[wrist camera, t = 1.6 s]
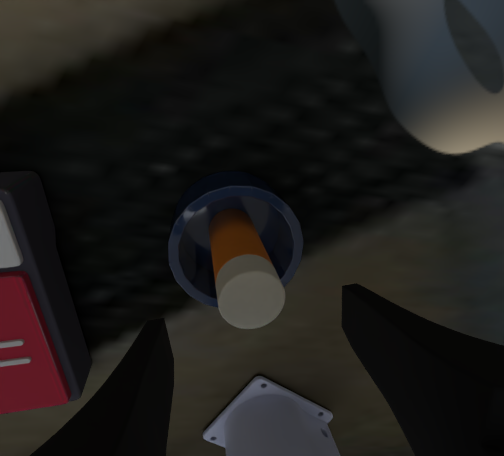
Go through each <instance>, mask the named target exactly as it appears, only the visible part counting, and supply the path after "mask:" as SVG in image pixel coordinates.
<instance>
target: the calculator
mask: <svg viewBox="0 0 504 456" xmlns="http://www.w3.org/2000/svg"><path fill="white" fill-rule="evenodd" d="M91 365H92V362H91V359H90V356H89V352H88V349H87V346H86V343H85V339H84V336H83V333H82V329H81V326H80V323H79V320H78V316H77V313H76V310H75V307H74V303H73V300H72V297H71V294H70V290H69V287H68V284H67V281H66V277H65V274H64V271H63V268H62V264H61V261H60V258H59V255H58V251H57V248H56V236H55V226H54V222H53V219H52V216H51V212H50V209H49V206H48V202H47V199H46V196H45V192H44V189H43V186H42V182H41V179H40V177H39V175H38V174H37V173H35V172H33V171H14V172H0V414H4V413H11V412H17V411H24V410H30V409H36V408H43V407H49V406H56V405H62V404H66V403H68V402H69V401H74V400H77V399H79V398H80V397H81V395H82V392H83V389H84V386H85V383H86V380H87V377H88V374H89V371H90V368H91Z"/></svg>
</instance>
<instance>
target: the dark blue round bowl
mask: <svg viewBox="0 0 504 456" xmlns="http://www.w3.org/2000/svg"><path fill="white" fill-rule="evenodd" d="M226 209H238V210H241V211H243V212H245V213H246V214H247V215H248V216H249V217H250V219H251V220H252V223H253V225H254V227H255V229H256V231H257V233H258V235H259V237H260V239H261V241H262V243H263V245H264V248H265V250H266V252H267V254H268V256H269V258H270V260H271V262H272V264H273V266H274V268H275V270H276V272H277V275H278V277H279V279H280V281H281V283H282V285H283V287H285V286H286V284H287V283H288V282H289V281H290V280H291V279H292V277H293V276H294V274H295V272H296V270H297V268H298V265H299V263H300V261H301V257H302V250H303V236H302V231H301V227H300V223H299V221H298V219H297V218H296V216H295V214H294V213H293V211H292V209H291V208H290V206H289V205H288V204H287V203H286V202H285V201H284V200H283V199H282V197H281V196H280V195H279V194H278V193H277V192H276V191H275V190H274V189H273V188H272V187H271V186H270V185H269V184H267V183H266V182H265V181H263V180H262V179H260V178H258V177H256V176H254V175H252V174H249V173H245V172H240V171H222V172H217V173H213V174H210V175H208V176H206V177H203V178H201V179H200V180H198V181H197V182H195V183H194V184H193V185H191V186H190V187H189V188H188V189H187V190H186V191H185V193H184V194H183V195H182V197H181V198H180V200H179V201H178V203H177V206H176V208H175V211H174V214H173V218H172V222H171V228H170V234H169V240H168V261H169V265H170V267H171V270H172V272H173V275H174V277H175V280H176V281H177V282H178V284H179V285H180V286H181V287H182V288H183V289H184V290H185V291H186V292H187V294H188V295H190V296H191V297H193V298H195V299H196V300H198V301H200V302H202V303H203V304H205V305H209V306H213V307H218V301H217V293H216V285H215V277H214V269H213V261H212V253H211V245H210V237H209V225H210V222H211V220H212V219H213V217H214V216H215V215H216V214H218V213H219V212H221V211H223V210H226Z"/></svg>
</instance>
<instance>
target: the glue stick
mask: <svg viewBox="0 0 504 456" xmlns="http://www.w3.org/2000/svg"><path fill="white" fill-rule="evenodd" d="M209 237H210V245H211V253H212V261H213V269H214V277H215V285H216V293H217V301H218V308H219V311H220V314H221V315H222V317H223V318H224V319H225V320H226V321H227V322H228V323H229V324H231V325H233V326H235V327H238V328H242V329H254V328H259V327H262V326H264V325H266V324H268V323H270V322H271V321H273V320H274V319H275V318H276V317H277V316H278V315H279V313H280V312H281V310H282V308H283V306H284V302H285V290H284V287H283V285H282V283H281V281H280V279H279V277H278V275H277V272H276V270H275V268H274V266H273V264H272V262H271V260H270V258H269V256H268V254H267V252H266V250H265V248H264V245H263V243H262V241H261V239H260V237H259V235H258V233H257V231H256V229H255V227H254V225H253V223H252V220H251V219H250V217H249V216H248V215H247V214H246V213H245V212H243V211H241V210H238V209H226V210H223V211H221V212H219V213H218V214H216V215H215V216H214V217H213V219H212V220H211V222H210V225H209Z"/></svg>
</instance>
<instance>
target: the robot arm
mask: <svg viewBox="0 0 504 456" xmlns="http://www.w3.org/2000/svg"><path fill="white" fill-rule="evenodd" d="M342 328H343V330H344V332H345V334H346V337H347V339H348V341H349V343H350V345H351V347H352V349H353V350H354V352H355V353H356V355H357V356H358V358H359V359H360V361H361V363H362V364H363V366H364V367H365V369H366V370H367V372H368V373H369V375H370V376H371V378H372V379H373V381H374V382H375V384H376V385H377V387H378V388H379V390H380V391H381V393H382V394H383V396H384V398H385V399H386V401H387V402H388V404H389V406H390V408H391V409H392V411H393V413H394V415H395V417H396V419H397V421H398V423H399V425H400V426H401V428H402V430H403V432H404V434H405V436H406V438H407V440H408V442H409V444H410V446H411V448H412V450H413V452H414V454H415V456H504V346H503V345H499V344H495V343H491V342H488V341H484V340H481V339H478V338H475V337H472V336H469V335H465V334H463V333H460V332H457V331H454V330H451V329H449V328H446V327H444V326H441V325H439V324H436V323H434V322H431V321H429V320H427V319H425V318H422V317H420V316H418V315H416V314H414V313H412V312H410V311H408V310H406V309H404V308H402V307H400V306H398V305H396V304H394V303H392V302H390V301H388V300H387V299H385V298H383V297H381V296H379V295H378V294H376V293H374V292H372V291H370V290H368V289H367V288H365V287H363V286H361V285H359V284H357V283H356V284H350V285H345V286H342ZM264 383H265V384H264ZM262 384H263V385H262ZM173 387H174V358H173V353H172V349H171V345H170V341H169V337H168V333H167V328H166V324H165V320H164V318H161V319H155V320H149V321H147V322H146V324H145V325H144V327H143V328H142V330H141V332H140V333H139V335H138V336H137V338H136V340H135V341H134V343H133V344H132V346H131V347H130V349H129V350H128V352H127V353H126V354H125V356H124V357H123V359H122V360H121V362H120V363H119V364H118V366H117V367H116V368H115V370H114V371H113V372H112V374H111V375H110V376H109V378H108V379H107V380H106V381H105V383H104V384H103V385H102V386H101V388H100V389H99V390H98V391H97V392H96V393H95V395H94V396H93V397H92V398H91V399H90V400H89V401H88V402H87V403H86V404H85V405H84V407H83V408H82V409H81V410H80V411H79V412H77V413H76V414H75V415H74V416H73V417H72V418H71V419H70V420H69V421H68V422H67V423H66V424H65V425H64V426H63V427H62V428H61V429H60V430H59V431H58V432H57V433H56V434H54V435H53V436H52V437H51V438H50V439H49V440H48V441H47V442H45V443H44V444H43V445H42V446H41V447H39V448H38V449H37V450H36V451H35V452H33V453H32V454H31V455H30V456H166V446H167V437H168V429H169V421H170V413H171V404H172V396H173ZM332 418H333V415H332V413H331V412H330V411H329V410H327V409H325V408H323V407H321V406H319V405H317V404H315V403H313V402H311V401H309V400H307V399H305V398H303V397H301V396H299V395H298V394H296V393H294V392H292V391H290V390H288V389H286V388H284V387H282V386H280V385H278V384H276V383H274V382H272V381H270V380H268V379H266V378H264V377H263V376H256V377H255V378H254V379H253V380H252V381H251V382H250V383H249V384H248V385H247V386H246V387H245V388H244V389H243V390H242V392H241V393H240V394H239V395H238V396H237V397H236V398H235V399H234V400H233V401H232V402H231V403H230V404H229V405H228V406H227V407H226V409H225V410H224V411H223V412H222V413H221V414H220V415H219V416H218V417H217V418H216V419H215V420H214V421H213V422H212V423H211V424H210V426H209V427H208V428H207V429H206V430H205V431H204V432H203V438H204V439H205V440H207V441H209V442H212V443H214V444H217V445H220V446H222V447H225V448H226V456H340V454H339V451H338V449H337V446H336V444H335V442H334V439H333V437H332V434H331V432H330V429H329V427H328V425H327V423H328V422H329V421H331V419H332Z"/></svg>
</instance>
